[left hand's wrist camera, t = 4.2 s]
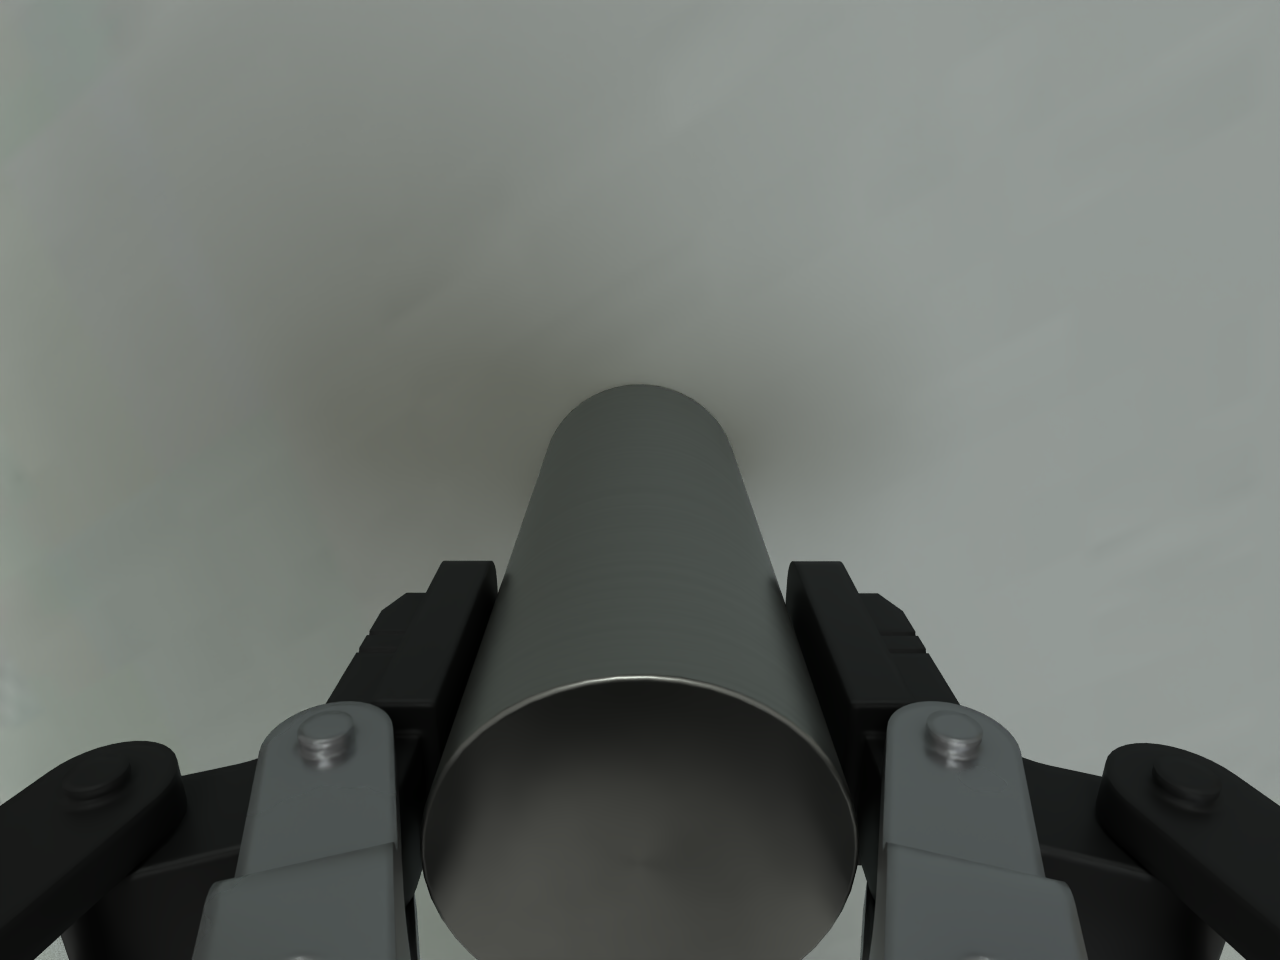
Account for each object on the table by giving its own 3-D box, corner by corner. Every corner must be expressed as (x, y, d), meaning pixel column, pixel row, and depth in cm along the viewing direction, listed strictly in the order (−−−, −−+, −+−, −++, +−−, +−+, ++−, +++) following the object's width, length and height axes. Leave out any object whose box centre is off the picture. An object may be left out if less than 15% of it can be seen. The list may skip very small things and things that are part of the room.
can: (759, 529, 18) (907, 958, 8) (586, 587, 19) (522, 1057, 9) (699, 355, 17) (788, 615, 7) (513, 423, 17) (339, 756, 7)
